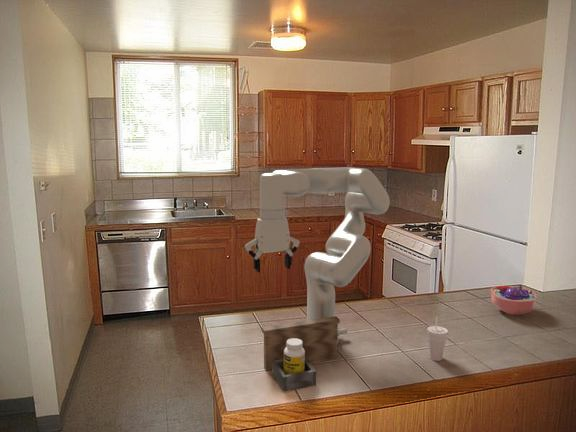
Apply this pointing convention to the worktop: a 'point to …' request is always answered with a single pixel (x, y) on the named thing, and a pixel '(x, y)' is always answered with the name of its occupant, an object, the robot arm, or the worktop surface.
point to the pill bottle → (294, 357)
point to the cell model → (513, 299)
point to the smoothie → (436, 341)
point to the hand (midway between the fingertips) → (272, 269)
